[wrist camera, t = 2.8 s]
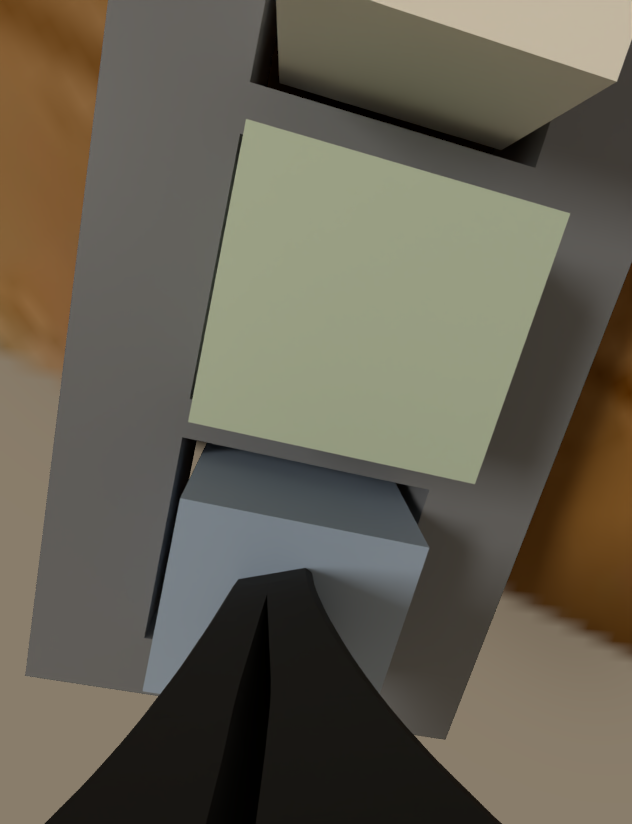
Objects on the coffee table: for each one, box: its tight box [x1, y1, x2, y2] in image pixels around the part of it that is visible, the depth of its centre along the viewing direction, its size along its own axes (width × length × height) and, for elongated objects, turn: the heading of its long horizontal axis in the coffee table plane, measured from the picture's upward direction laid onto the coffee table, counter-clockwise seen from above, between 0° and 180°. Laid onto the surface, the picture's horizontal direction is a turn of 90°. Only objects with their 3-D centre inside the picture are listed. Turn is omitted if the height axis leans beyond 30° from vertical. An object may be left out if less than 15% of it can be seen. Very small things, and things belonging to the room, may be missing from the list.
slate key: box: [143, 443, 429, 694], centre depth 11 cm, size 4×4×4 cm
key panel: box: [25, 0, 632, 739], centre depth 11 cm, size 10×19×3 cm, turn 166°
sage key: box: [188, 119, 570, 484], centre depth 9 cm, size 4×4×4 cm
